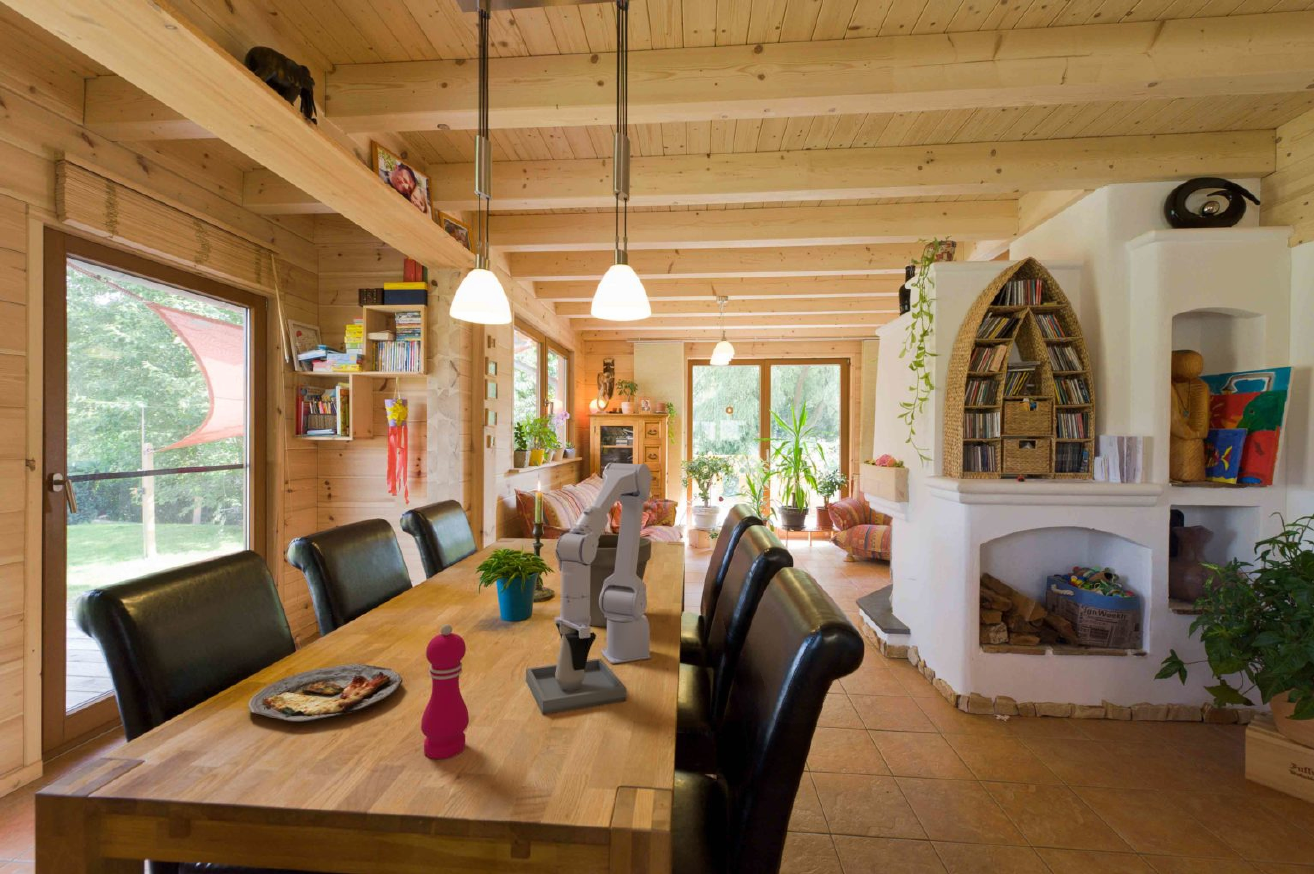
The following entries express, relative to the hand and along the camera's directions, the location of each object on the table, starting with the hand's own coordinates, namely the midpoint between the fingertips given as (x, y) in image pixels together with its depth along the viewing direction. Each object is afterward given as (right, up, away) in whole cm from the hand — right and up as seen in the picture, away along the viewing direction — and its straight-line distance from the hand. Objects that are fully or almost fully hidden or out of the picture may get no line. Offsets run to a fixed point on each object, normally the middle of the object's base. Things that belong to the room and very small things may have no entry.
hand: (574, 663), depth 119 cm
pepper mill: (-18, -6, -23) cm, 29 cm away
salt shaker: (-1, -5, 0) cm, 5 cm away
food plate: (-46, -5, -5) cm, 46 cm away
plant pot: (+2, -5, +46) cm, 47 cm away
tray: (0, -5, 0) cm, 5 cm away
